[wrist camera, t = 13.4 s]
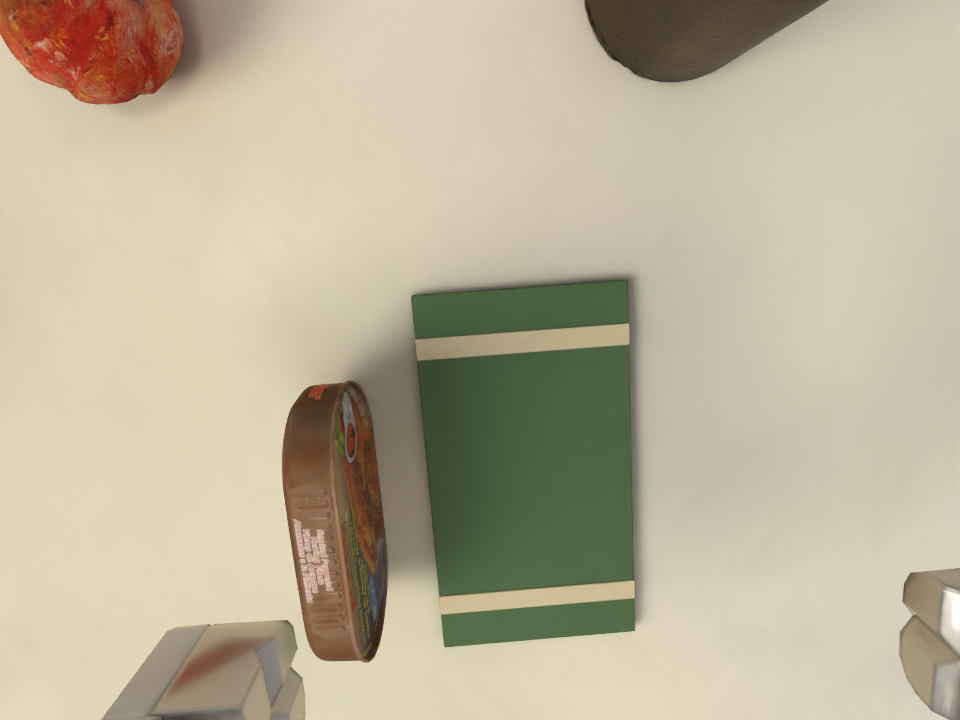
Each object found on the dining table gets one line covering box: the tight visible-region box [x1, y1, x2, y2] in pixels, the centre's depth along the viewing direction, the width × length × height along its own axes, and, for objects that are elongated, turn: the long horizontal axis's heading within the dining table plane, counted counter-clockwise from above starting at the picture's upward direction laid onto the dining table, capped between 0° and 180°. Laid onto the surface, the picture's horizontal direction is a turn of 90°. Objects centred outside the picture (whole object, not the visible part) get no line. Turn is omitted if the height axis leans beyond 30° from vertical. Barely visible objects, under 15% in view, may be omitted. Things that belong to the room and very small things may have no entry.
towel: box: [411, 280, 635, 647], centre depth 37 cm, size 12×22×1 cm, turn 4°
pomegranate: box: [0, 0, 184, 104], centre depth 28 cm, size 7×7×10 cm
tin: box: [282, 381, 387, 662], centre depth 33 cm, size 15×3×8 cm, turn 4°
